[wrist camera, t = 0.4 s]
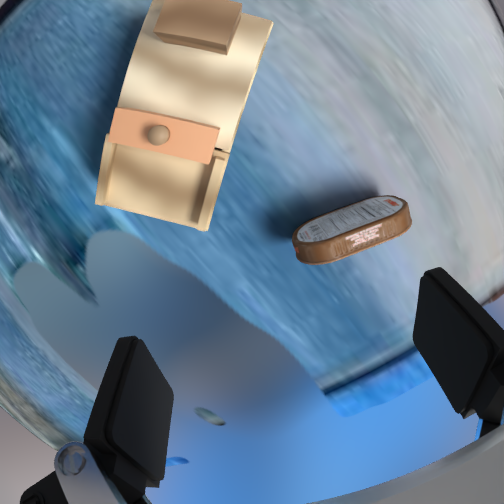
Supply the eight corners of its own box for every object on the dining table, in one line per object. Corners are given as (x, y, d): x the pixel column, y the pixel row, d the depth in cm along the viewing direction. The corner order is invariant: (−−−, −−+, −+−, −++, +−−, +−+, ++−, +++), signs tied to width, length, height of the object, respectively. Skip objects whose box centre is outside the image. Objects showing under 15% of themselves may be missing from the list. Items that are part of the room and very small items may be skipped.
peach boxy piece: (128, 107, 24) (110, 107, 20) (220, 127, 26) (218, 130, 22) (121, 137, 25) (102, 143, 21) (211, 158, 27) (207, 167, 23)
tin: (291, 245, 39) (305, 278, 32) (283, 224, 38) (296, 253, 31) (392, 206, 38) (425, 230, 30) (388, 185, 37) (422, 205, 29)
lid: (156, 0, 20) (141, -19, 15) (271, 24, 22) (279, 6, 17) (116, 123, 26) (93, 127, 21) (228, 149, 28) (227, 157, 23)
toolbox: (166, 15, 25) (148, -10, 18) (266, 37, 28) (277, 15, 20) (119, 186, 34) (91, 207, 27) (211, 209, 37) (206, 237, 29)
